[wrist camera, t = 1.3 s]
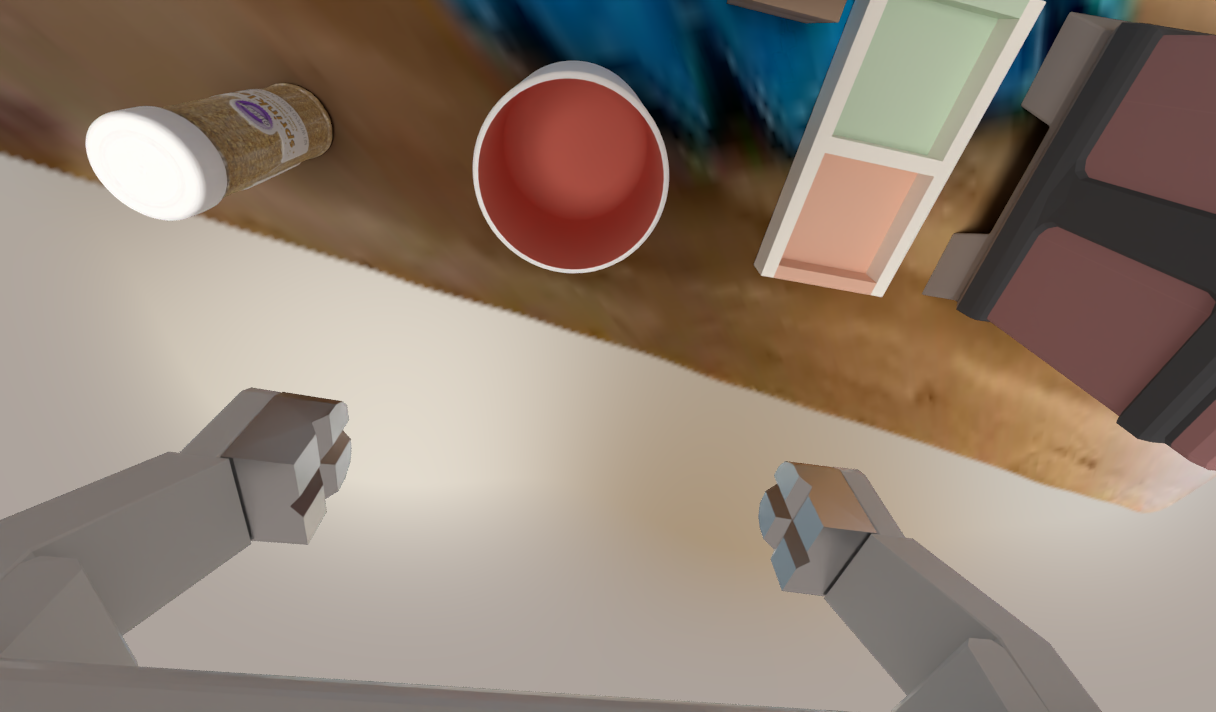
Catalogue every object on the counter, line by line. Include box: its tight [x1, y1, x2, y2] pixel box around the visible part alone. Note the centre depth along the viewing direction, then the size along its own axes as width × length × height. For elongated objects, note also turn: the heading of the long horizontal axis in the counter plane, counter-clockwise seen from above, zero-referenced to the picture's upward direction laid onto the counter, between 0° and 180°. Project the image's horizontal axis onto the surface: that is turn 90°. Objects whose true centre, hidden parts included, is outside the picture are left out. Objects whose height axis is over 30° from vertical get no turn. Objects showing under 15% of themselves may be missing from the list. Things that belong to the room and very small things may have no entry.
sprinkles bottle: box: [86, 83, 332, 221], centre depth 27 cm, size 5×5×14 cm
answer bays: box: [754, 0, 1046, 297], centre depth 34 cm, size 19×10×2 cm, turn 169°
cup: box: [473, 61, 669, 273], centre depth 29 cm, size 10×10×10 cm
